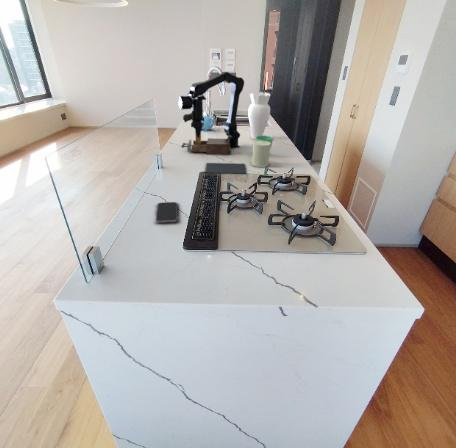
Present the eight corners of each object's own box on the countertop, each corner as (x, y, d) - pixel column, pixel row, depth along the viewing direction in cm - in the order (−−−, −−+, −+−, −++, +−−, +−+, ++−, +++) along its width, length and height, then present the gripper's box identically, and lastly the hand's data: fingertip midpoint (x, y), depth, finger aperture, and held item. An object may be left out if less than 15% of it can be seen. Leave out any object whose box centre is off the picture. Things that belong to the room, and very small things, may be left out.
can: (270, 162, 156) (272, 140, 150) (266, 168, 149) (269, 145, 142) (253, 160, 159) (255, 138, 152) (249, 165, 151) (251, 143, 145)
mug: (271, 158, 163) (273, 140, 158) (254, 157, 164) (256, 139, 159) (270, 150, 176) (272, 134, 170) (254, 149, 176) (255, 133, 171)
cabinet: (206, 154, 167) (206, 143, 164) (207, 148, 178) (207, 138, 175) (229, 154, 167) (230, 144, 164) (229, 148, 178) (229, 138, 175)
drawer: (181, 152, 167) (180, 144, 165) (183, 146, 177) (183, 139, 175) (208, 152, 167) (208, 145, 165) (209, 147, 177) (209, 140, 175)
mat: (244, 164, 153) (244, 163, 153) (245, 174, 141) (245, 173, 141) (207, 163, 153) (207, 163, 153) (205, 173, 141) (205, 172, 141)
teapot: (214, 131, 216) (215, 117, 210) (197, 132, 214) (197, 117, 208) (212, 127, 227) (212, 114, 221) (195, 128, 224) (195, 114, 219)
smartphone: (176, 202, 112) (177, 220, 99) (177, 204, 112) (177, 222, 99) (158, 202, 111) (155, 221, 98) (158, 205, 111) (155, 223, 98)
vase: (242, 138, 198) (245, 93, 183) (252, 134, 209) (255, 91, 194) (261, 142, 192) (266, 95, 177) (270, 137, 202) (275, 93, 187)
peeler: (195, 148, 170) (195, 128, 164) (196, 146, 173) (195, 127, 167) (200, 148, 170) (200, 128, 164) (201, 146, 173) (200, 127, 167)
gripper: (185, 105, 168) (186, 132, 176) (181, 111, 152) (182, 140, 160) (204, 105, 168) (204, 132, 176) (201, 111, 152) (202, 140, 160)
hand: (198, 136), depth 168 cm, fingers closed on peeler, 3 cm apart
